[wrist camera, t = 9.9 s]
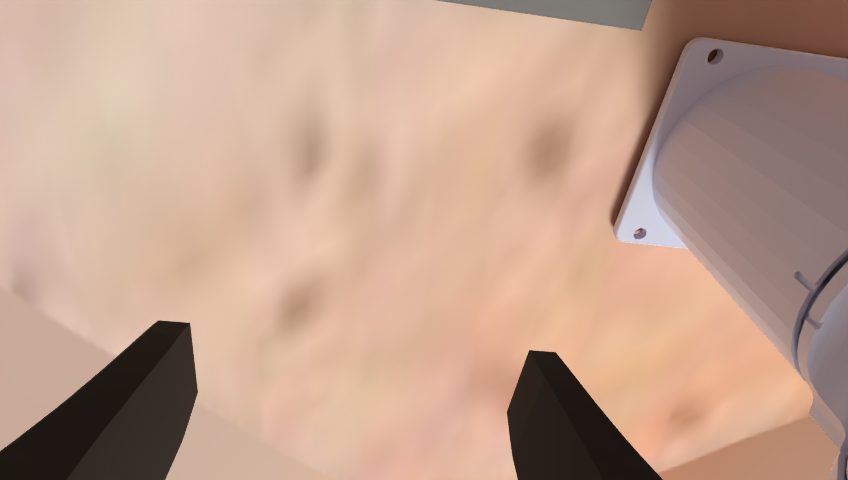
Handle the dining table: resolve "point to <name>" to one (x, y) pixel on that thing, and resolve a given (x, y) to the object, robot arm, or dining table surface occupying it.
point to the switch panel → (575, 10)
